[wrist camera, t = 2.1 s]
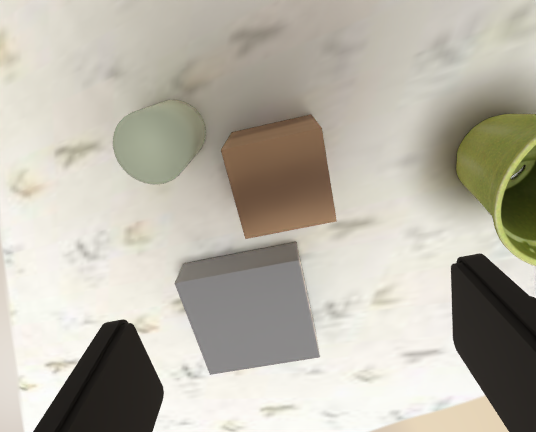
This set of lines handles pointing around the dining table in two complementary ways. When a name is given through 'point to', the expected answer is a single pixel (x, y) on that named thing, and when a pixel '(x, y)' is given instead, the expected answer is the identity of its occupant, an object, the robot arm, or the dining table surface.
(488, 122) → the plant pot
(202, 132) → the tin
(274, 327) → the plinth
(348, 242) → the dining table surface
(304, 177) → the cube
